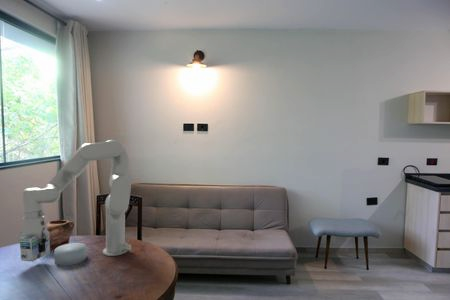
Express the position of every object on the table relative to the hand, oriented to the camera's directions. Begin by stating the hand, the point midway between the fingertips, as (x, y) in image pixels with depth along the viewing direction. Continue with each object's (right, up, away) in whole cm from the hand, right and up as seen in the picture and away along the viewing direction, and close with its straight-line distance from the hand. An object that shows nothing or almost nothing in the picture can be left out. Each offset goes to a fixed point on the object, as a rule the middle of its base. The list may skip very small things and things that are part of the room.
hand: (35, 250), depth 137 cm
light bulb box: (0, -3, 0) cm, 3 cm away
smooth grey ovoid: (+13, -7, +8) cm, 16 cm away
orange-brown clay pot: (-2, -6, +25) cm, 25 cm away
